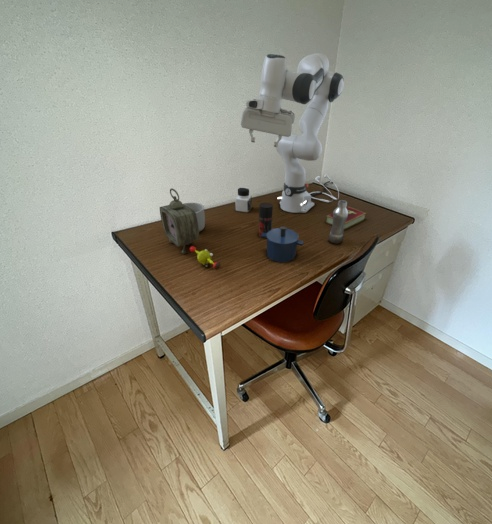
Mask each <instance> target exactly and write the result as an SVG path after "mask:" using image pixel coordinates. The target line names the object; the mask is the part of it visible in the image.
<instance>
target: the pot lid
mask: <svg viewBox="0 0 492 524" xmlns="http://www.w3.org/2000/svg"><path fill="white" fill-rule="evenodd" d="M266 237H267V238H266V240H267V239H268V240H269V241H271V242H273V243H275V244H280V245H288V244H293V243H295V242H296V241H297V240H299V234H298V233H297V232H296V231H295V230H293V229H289V228H287V227H286V226H280V227H276V228H272V230H270V231H268V232H267V234H266Z"/></svg>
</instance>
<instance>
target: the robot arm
mask: <svg viewBox="0 0 492 524" xmlns="http://www.w3.org/2000/svg"><path fill="white" fill-rule="evenodd" d="M344 85H345V79H344V76H343V75H342V74H341V73H340V72H334V71H331V70H330V61H329V58H328V56H327V55H326V54H324V53H321V52H315V53H311V54H308V55H306V56H304V57H303V58H302V59H300V61H299V63H298V65H297V70H296V71H295V70H294V71H293V70H289V69H288V68H287V58H286V57H285V56H284V55H281V54H274V53H267V54H266V55H265V57H264V59H263V63H262V68H261V73H260V90H259V93H258V98H253V99H249V100H248V99H247V100H246V101H245V108H244V109H243V111H242V114H241V119H240V126H241V128H242V129H247V130H248V133H249V136H250V143H256V137H255V136H254V135H253V133H254V131H256V132H261V133H266V134H270V135H271V134H272V135H277V137H276V139H275V141H274V142H273V143H274V144H273V147H274V148H275V150H276V152H277V153H278V154H279V156H280V157H281V159H282V162H283V165H284V175H285V176H284V183H283V190H282V192H281V196H278V197H277V200H280V201H279V208H280V209H281V210H283V211H284V212H287V213H292V214H293V213H297V214H298V213H302V214H306V213H307V212H309V210H311V209H312V208H313V207H314V206H315V202H313V201H312V198H311V197H314V196H317V195H320V194H322V192H323V193H326V191H327V189H326V188H327V186H326V185H327V184H329V183H331V184H334V183H333V182H334V181H333V182H330V181H331V180H329V181H326V182H324V183H323V187H324V186H325V187H326V188H325V187H324V190H322V191H318V192H319V193H312V195H311V194H309V193H310V192H308V191H307V188H309V183H306V175H307V171H306V168H305V167H304V166H303V165H302V164H301V162H300V160H302V161H306V162H307V161H309V162H310V161H312V162H313V161H317V160H318V159H319V158H320V156H321V155H322V152H323V146H322V143H321V141H320V139H319V137H318V136H319V131H320V128H321V126H322V124H323V122H324V121H325V118H326V116H327V113H328V110H329V104H330V103H333V102H334V101H335V100H337V99H338V98H339V97H340V96H341V94H342V92H343V90H344ZM283 100H285V101H289V102H293V103H294V102H295V103H298V104H301V105H307V106H306V108H305V109H304V110H303V113H302V115H301V117H300V118H299V121H298V129H299V131H300V132H301V133H302V134H294V133H292V129H293V124H294V123H295V120H296V119H295V118H296V115H295V113H294V112H293V110H290V109H289V110H288V109H284V108H282V102H283Z"/></svg>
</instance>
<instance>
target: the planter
mask: <svg viewBox="0 0 492 524" xmlns="http://www.w3.org/2000/svg"><path fill="white" fill-rule="evenodd" d="M182 204H185V205H187V206H188V207H190V208H191V209H192V210H194V212H195V213H196V216H197V221H198V228H199V233H200V232H201V231H203V230H204V228H206V227H205V226H206V214H205V206H204V205H203V204H201V203H198V202H182Z"/></svg>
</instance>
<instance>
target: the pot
mask: <svg viewBox="0 0 492 524" xmlns="http://www.w3.org/2000/svg"><path fill="white" fill-rule="evenodd" d="M266 234H267V233H263V234H262V235H261V237H260V238H262V237H263V238H264V239H266V256H267V257H268V258H269V259H270V260H272V261H274V262H278V263H289V262H291V261H293V260H294V259H295V258H296V256H297V250H298V249H297V248H298V246H300V247H303V245H304V243H305V241H304V240H301V239H300V240H299V239H298V240H297V241H296V242H295V243H293V244H288V245H280V244H275V243H273V242H271V241H269V240H268V239H267V237H266Z"/></svg>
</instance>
